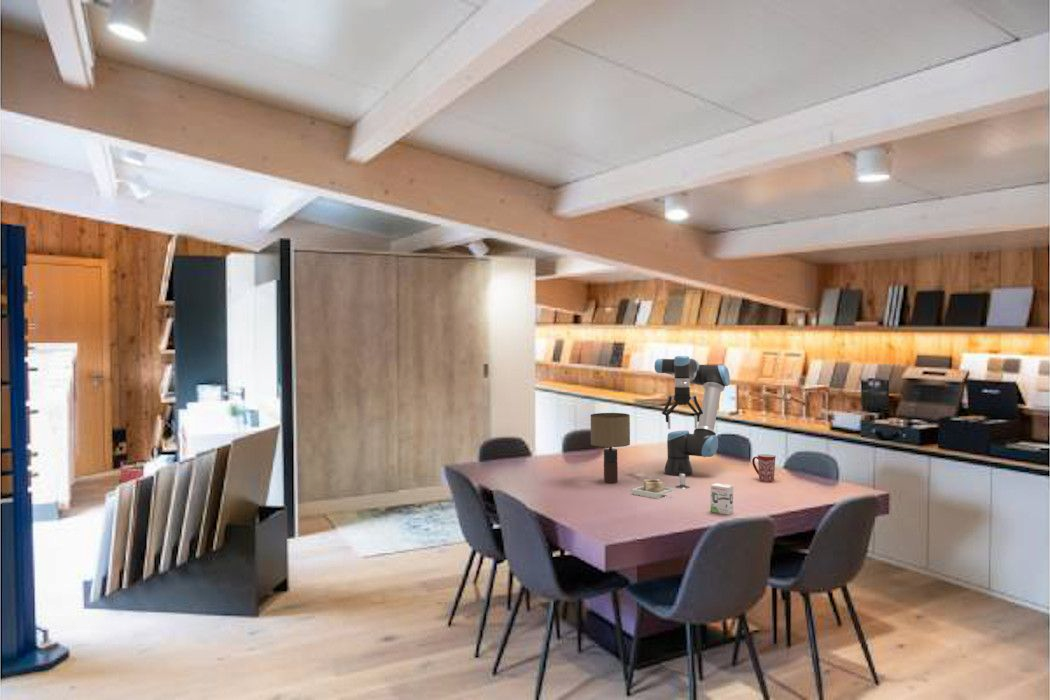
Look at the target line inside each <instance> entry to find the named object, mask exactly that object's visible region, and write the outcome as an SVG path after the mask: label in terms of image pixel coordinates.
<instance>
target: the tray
mask: <svg viewBox="0 0 1050 700" xmlns="http://www.w3.org/2000/svg"><path fill="white" fill-rule="evenodd" d="M676 489H677V488H676V487H668V486H664V485H663V491H662V492H659V493H654V492H649V491H645V490H644V485H642V486H638V487H634V488H631V490H630V493H631V495H633V494H634V496H639V495H640V497H644V496H645V497H646V498H650V497H651V499H655V498H656V499H657V500H659V499H662V498H665V496H666V497H667V495H665V494H668V493H672V492H675V491H676ZM645 497H644V498H645Z"/></svg>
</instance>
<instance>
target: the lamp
mask: <svg viewBox="0 0 1050 700" xmlns="http://www.w3.org/2000/svg"><path fill="white" fill-rule="evenodd" d="M630 418H631V415H630V414H629V413H624V412H623V413H622V412H598V413H592V414H590V445H591V446H594V447H598V448H604V449H603V482H604V483H605V484H617V483H618V481H619V479H618V478H619V477H618V473H619V472H618V470H619V468H618V448H622V447H628V446H631V425H630V424H631V423H630V422H631V420H630Z"/></svg>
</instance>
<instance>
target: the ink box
mask: <svg viewBox="0 0 1050 700" xmlns="http://www.w3.org/2000/svg"><path fill="white" fill-rule="evenodd" d="M710 512H712V513H716V514H723V515H731V514H734V485H732V484H727V483H726V484H724V483H719V482H716V483H712V484H711V485H710Z"/></svg>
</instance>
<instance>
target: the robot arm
mask: <svg viewBox="0 0 1050 700" xmlns="http://www.w3.org/2000/svg"><path fill="white" fill-rule="evenodd" d="M654 371H655V372H656V373H657V374H667V375H670V376H673V377H674V395H673V396H670V395H669V396H668V398H667V401H666V404H665V406H664V408H663V410H662V412H661V414H662V416H664V417H665V422H666V423H667V429H668V430H671V415H670V414H672V412H673V411H674V410H675V409H676V407H678V405H679V406H686V405H687V406H688V407H689V408H690V409H691V410H692V412H693V413H694V415H693V416H694V430H693V433H690V431H689V430H676V431H670V432H668V434H667V438H666V439H667V440H666V442H667V448H666V449H667V459H666V463H665V467H664V471H663V472H664V474H665V475H668V476H673V477H675V476H676V477H677V476H678V477H679V474H680V473H684V474H685V477H686V476H691V475H693V471H694V470H693V466H692V463H691V461H690V456H693V457H703V458H711V457H714V456H715V455H716V453H717V451H718V448H719V438H718V436H717V434H716V432H715V431H714V430H715V425H716V419H717V416H718V415H717V414H718V410H719V403H720V400H721V399H720V398H721V393H722V392H723V391H725V387H727V386H729V385H730V381H731V380H730V379H731V378H730V372H729V369H728V367H727V366H726V365H724V364H699V362H698V360H697V359H694V358H690V356H688V355H676V356H675V357H674V358H657V359H656V360H655V362H654ZM691 384H694V385H697V386H702V387H703V389H704V394H703V398H702V403H701V406H700V404H699V401H698V400H697V396H696V395H691V387H689V386H690V385H691ZM673 400H674V402H673ZM691 400H692V401H693V403H694V405H695V407H696V408H695V407H694V406H693V405H692V404H691V402H690V401H691ZM672 402H673V405H671V403H672ZM670 405H671V406H670Z"/></svg>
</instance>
